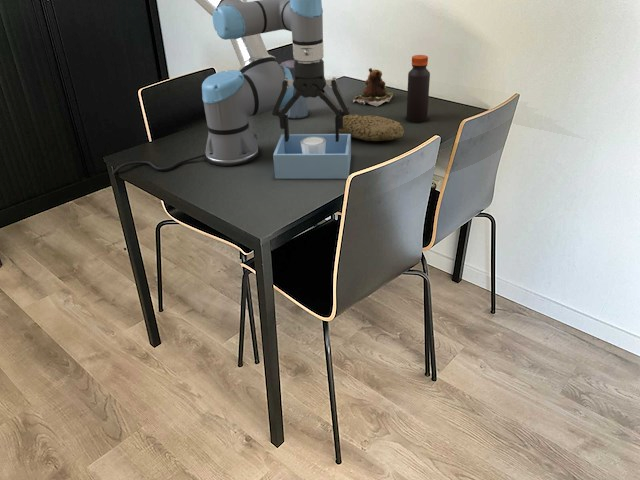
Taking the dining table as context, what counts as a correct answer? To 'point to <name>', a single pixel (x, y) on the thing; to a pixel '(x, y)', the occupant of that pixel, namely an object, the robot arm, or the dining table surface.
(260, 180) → the dining table surface
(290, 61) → the moka pot
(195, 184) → the dining table surface
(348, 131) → the sponge
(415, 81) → the bottle
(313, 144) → the shot glass
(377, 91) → the bear figurine
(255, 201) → the dining table surface
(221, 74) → the robot arm
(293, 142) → the open storage box
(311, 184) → the dining table surface
